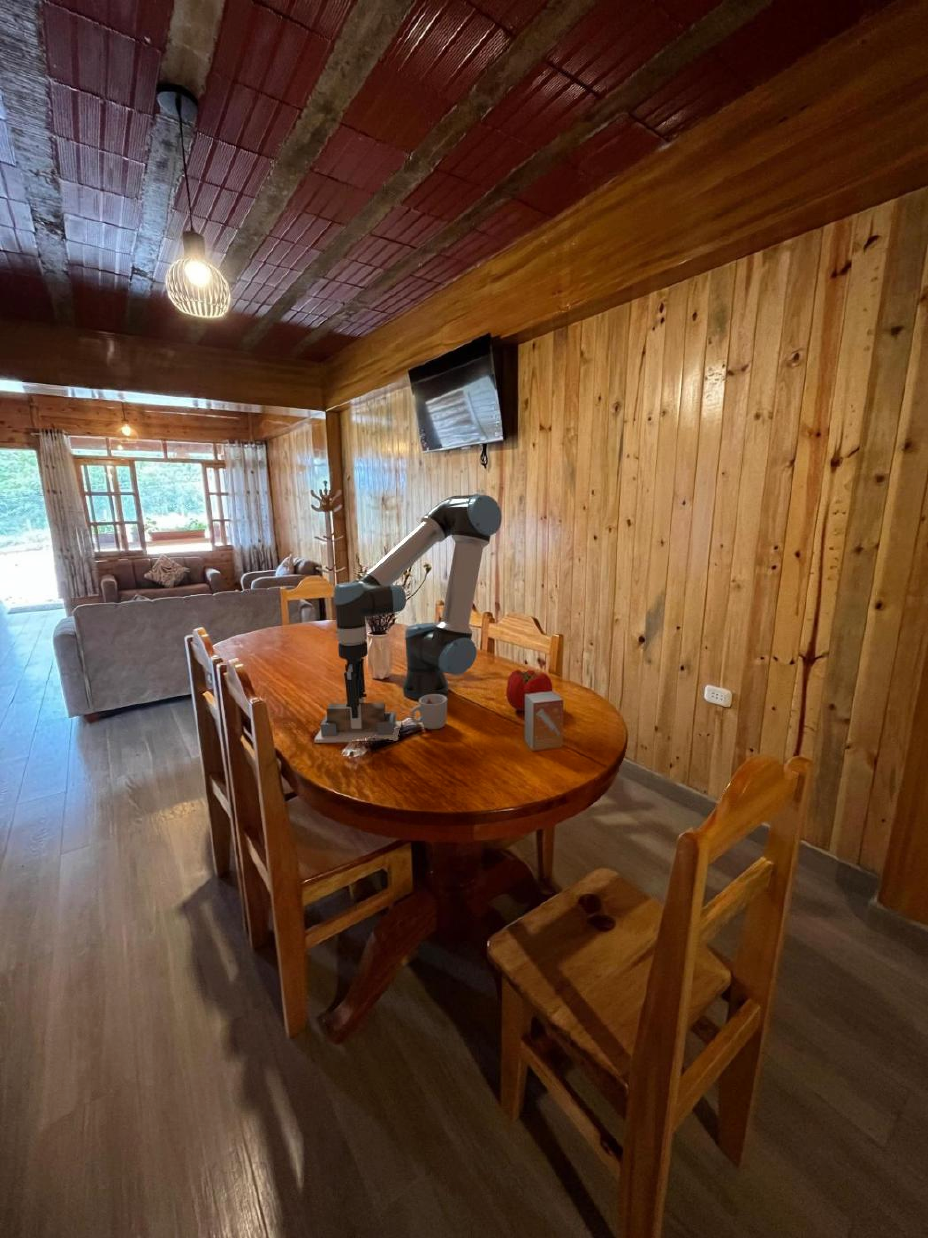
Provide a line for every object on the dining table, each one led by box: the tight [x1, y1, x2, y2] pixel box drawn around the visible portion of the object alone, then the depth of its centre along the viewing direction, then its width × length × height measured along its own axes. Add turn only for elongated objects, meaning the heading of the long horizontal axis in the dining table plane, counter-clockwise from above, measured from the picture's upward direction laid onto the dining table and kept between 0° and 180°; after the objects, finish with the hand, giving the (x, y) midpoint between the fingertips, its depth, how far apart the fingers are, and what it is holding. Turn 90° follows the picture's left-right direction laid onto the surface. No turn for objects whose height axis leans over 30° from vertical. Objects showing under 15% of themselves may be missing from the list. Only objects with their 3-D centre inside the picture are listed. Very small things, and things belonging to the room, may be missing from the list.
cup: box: [410, 694, 448, 730], centre depth 140 cm, size 11×8×8 cm
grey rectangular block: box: [326, 702, 386, 730], centre depth 136 cm, size 15×4×6 cm, turn 91°
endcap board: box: [314, 711, 403, 744], centre depth 137 cm, size 22×10×4 cm, turn 90°
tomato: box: [505, 669, 554, 712], centre depth 150 cm, size 13×14×12 cm
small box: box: [524, 690, 564, 752], centre depth 127 cm, size 8×6×13 cm
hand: (358, 724), depth 137 cm, fingers closed on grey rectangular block, 4 cm apart
